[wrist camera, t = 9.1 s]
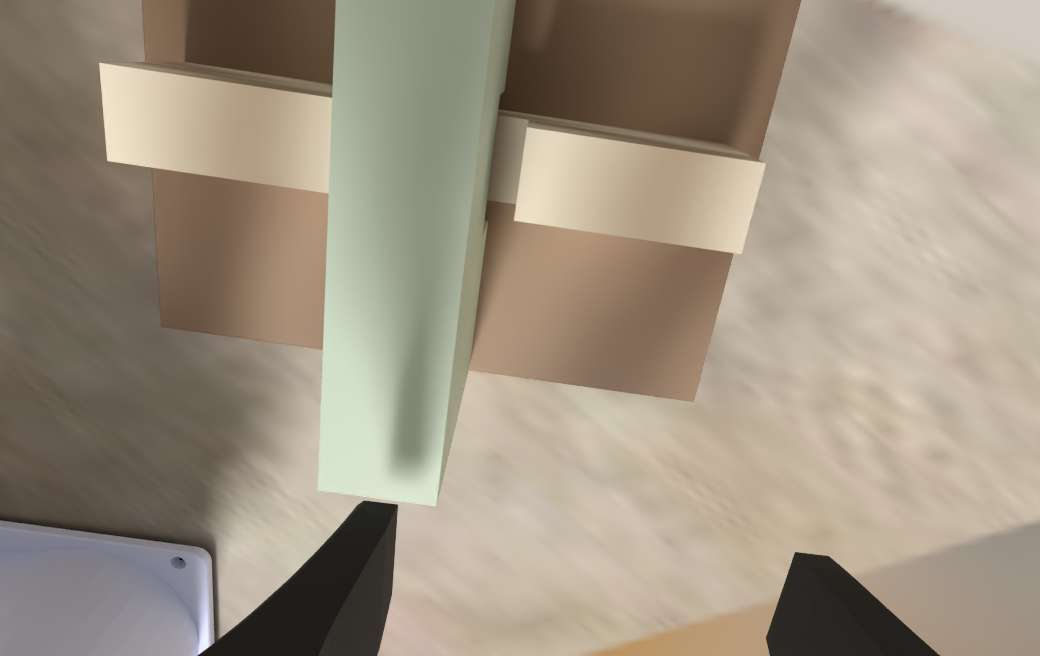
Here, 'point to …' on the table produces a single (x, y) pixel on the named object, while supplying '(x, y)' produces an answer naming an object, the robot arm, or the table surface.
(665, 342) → the slotted base
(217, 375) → the table surface
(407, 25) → the sage plate
